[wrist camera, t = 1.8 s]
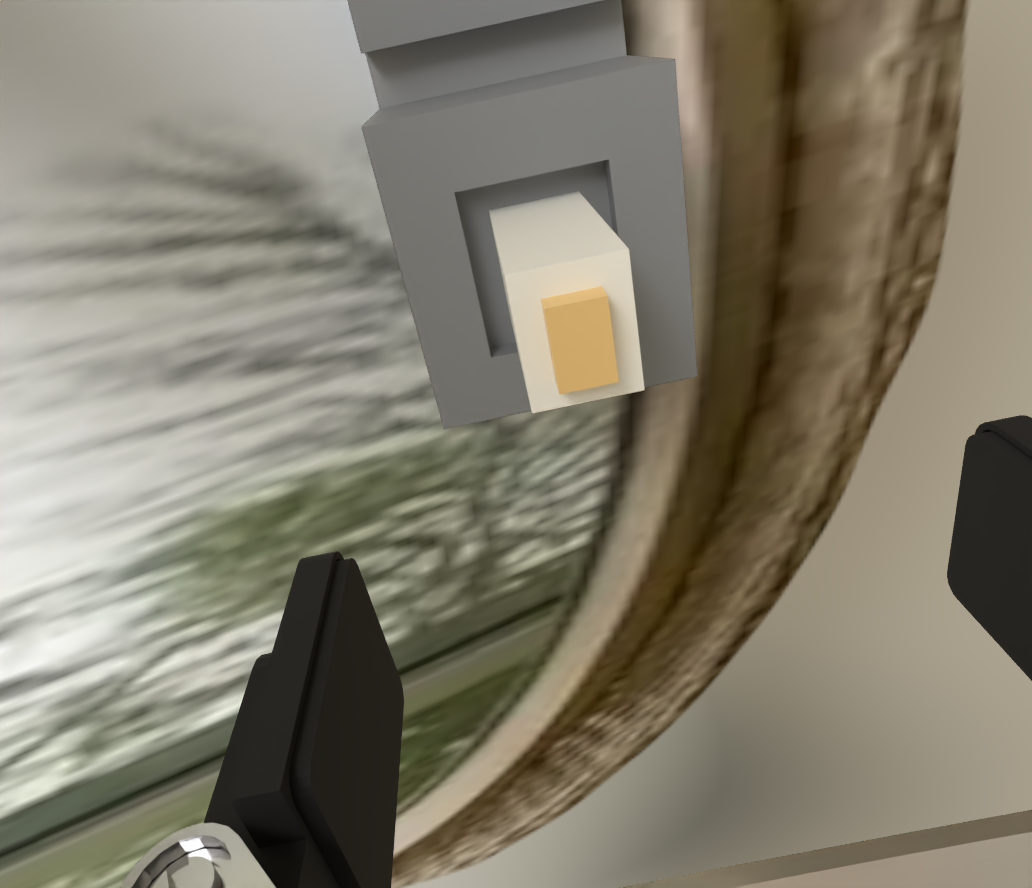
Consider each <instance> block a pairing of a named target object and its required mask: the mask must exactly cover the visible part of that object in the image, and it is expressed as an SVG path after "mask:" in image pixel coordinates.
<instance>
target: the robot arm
mask: <svg viewBox="0 0 1032 888" xmlns="http://www.w3.org/2000/svg"><path fill="white" fill-rule="evenodd" d="M947 578H948V583H949V586H950V588H951V590H952V592H953V594H954V595H955V597H956V598H957V599H958V600H959V601H960V602H961V604H962V605H963V606H964V607H965V608H966V609H967V610H968V611H969V612H970V613H971V614H972V616H973V617H974V618H975V619H976V620H977V621H978V622H979V623H980V624H981V626H982V627H983V628H984V629H985V630H986V631H987V632H988V633H989V634H990V635H991V636H992V637H993V639H994V640H995V641H996V642H997V643H998V644H999V645H1000V646H1001V647H1002V648H1003V649H1004V651H1005V652H1006V653H1007V654H1008V655H1009V656H1010V657H1011V658H1012V660H1013V661H1014V662H1015V663H1016V664H1017V665H1018V666H1019V667H1020V668H1021V669H1022V671H1023V672H1024V673H1025V674H1026V675H1027V676H1028V677H1029V678H1030V679H1031V680H1032V418H1030V417H1028V416H1016V417H1010V418H1005V419H1001V420H996V421H990V422H985V423H983V424H981V425H979V427H978V428H977V430H976V432H975V435H972V436H970V437H969V438H968V440H967V442H966V445H965V452H964V459H963V466H962V474H961V480H960V487H959V494H958V501H957V508H956V515H955V522H954V529H953V536H952V543H951V550H950V557H949V563H948V571H947ZM403 708H404V696H403V688H402V683H401V680H400V677H399V674H398V672H397V669H396V666H395V664H394V661H393V658H392V656H391V653H390V650H389V648H388V645H387V642H386V640H385V637H384V634H383V632H382V629H381V626H380V624H379V621H378V618H377V616H376V613H375V610H374V608H373V605H372V602H371V600H370V597H369V594H368V591H367V589H366V586H365V583H364V581H363V578H362V575H361V573H360V570H359V567H358V565H357V563H356V561H355V560H354V559H353V558H350V559H345V560H344V558H343V556H342V555H341V554H340V552H331V553H326V554H321V555H316V556H311V557H306V558H302V559H301V560H300V561H299V563H298V566H297V569H296V573H295V576H294V579H293V583H292V586H291V590H290V593H289V597H288V600H287V603H286V607H285V610H284V614H283V617H282V620H281V624H280V627H279V631H278V634H277V638H276V641H275V644H274V648H273V651H272V653H269V654H264V655H261V656H260V657H259V658H258V659H257V660H256V662H255V664H254V666H253V669H252V672H251V675H250V678H249V681H248V684H247V688H246V691H245V694H244V697H243V700H242V703H241V707H240V710H239V713H238V716H237V719H236V722H235V726H234V729H233V732H232V735H231V738H230V741H229V745H228V748H227V751H226V754H225V757H224V760H223V764H222V767H221V770H220V773H219V776H218V779H217V783H216V786H215V789H214V792H213V795H212V798H211V802H210V805H209V808H208V811H207V814H206V817H205V821H204V823H203V824H195V825H192V826H189V827H187V828H184V829H182V830H179V831H177V832H174V833H173V834H171V835H170V836H168V837H167V838H165V839H164V840H162V841H160V842H159V843H157V844H156V845H155V846H154V847H153V848H151V849H150V850H149V851H148V852H147V853H146V854H145V855H144V856H143V857H142V858H141V859H140V860H139V861H138V862H137V863H136V864H135V866H134V867H133V868H132V870H131V871H130V872H129V874H128V875H127V877H126V878H125V879H124V881H123V882H122V884H121V886H120V888H391V879H392V864H393V850H394V836H395V822H396V808H397V793H398V779H399V765H400V751H401V737H402V722H403ZM620 888H1032V810H1028V811H1023V812H1017V813H1012V814H1006V815H1001V816H995V817H990V818H985V819H979V820H974V821H968V822H963V823H957V824H952V825H947V826H941V827H936V828H931V829H925V830H920V831H915V832H909V833H904V834H899V835H893V836H888V837H883V838H877V839H872V840H866V841H861V842H856V843H851V844H845V845H840V846H835V847H829V848H824V849H819V850H813V851H808V852H803V853H798V854H792V855H787V856H782V857H776V858H771V859H766V860H761V861H755V862H750V863H744V864H739V865H735V866H729V867H724V868H719V869H713V870H708V871H703V872H698V873H693V874H688V875H682V876H678V877H672V878H667V879H662V880H656V881H651V882H646V883H641V884H636V885H631V886H625V887H620Z"/></svg>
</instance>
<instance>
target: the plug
mask: <svg viewBox="0 0 1032 888" xmlns="http://www.w3.org/2000/svg"><path fill="white" fill-rule="evenodd" d="M489 214H490V219H491V224H492V229H493V234H494V239H495V244H496V249H497V253H498V258H499V263H500V268H501V273H502V278H503V283H504V288H505V293H506V298H507V303H508V308H509V313H510V318H511V322H512V326H513V331H514V335H515V340H516V344H517V349H518V353H519V358H520V362H521V367H522V371H523V375H524V380H525V384H526V389H527V393H528V398H529V402H530V407H531V411H532V413H537V412H542V411H547V410H552V409H556V408H561V407H566V406H571V405H576V404H581V403H585V402H590V401H595V400H600V399H605V398H609V397H614V396H619V395H624V394H629V393H634V392H638V391H643V390H645V389H644V380H643V371H642V362H641V353H640V344H639V335H638V326H637V318H636V309H635V300H634V291H633V282H632V273H631V264H630V255H629V249H628V247H627V246H626V245H625V244H624V243H623V242H622V241H621V239H620V238H619V237H618V236H617V235H616V234H615V232H614V231H613V230H612V229H611V228H610V227H609V226H608V224H607V223H606V222H605V221H604V220H603V219H602V217H601V216H600V215H599V214H598V213H597V212H596V211H595V209H594V208H593V207H592V206H591V205H590V204H589V202H588V201H587V200H586V199H585V198H584V197H583V196H582V194H581V193H580V192H579V191H578V192H574V193H569V194H564V195H559V196H555V197H550V198H545V199H541V200H536V201H531V202H527V203H522V204H517V205H513V206H508V207H503V208H499V209H494V210H489Z"/></svg>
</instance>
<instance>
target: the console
mask: <svg viewBox="0 0 1032 888" xmlns="http://www.w3.org/2000/svg"><path fill="white" fill-rule="evenodd" d="M347 1H348V5H349V8H350V12H351V16H352V20H353V24H354V28H355V31H356V35H357V39H358V43H359V47H360V50H361V53H366V57H367V61H368V65H369V69H370V73H371V77H372V80H373V84H374V88H375V92H376V96H377V100H378V104H379V108H380V109H379V110H378V111H377V112H376V113H375V114H374V115H373V116H372V117H371V118H370V119H369V120H368V121H367V122H366V123H365V124H364V125H363V126H362V131H363V135H364V138H365V142H366V146H367V149H368V153H369V157H370V160H371V164H372V168H373V171H374V175H375V178H376V182H377V186H378V189H379V193H380V197H381V200H382V204H383V208H384V211H385V215H386V219H387V222H388V226H389V230H390V233H391V237H392V241H393V244H394V248H395V252H396V255H397V259H398V263H399V266H400V270H401V274H402V277H403V281H404V285H405V288H406V292H407V296H408V299H409V303H410V307H411V310H412V314H413V318H414V321H415V325H416V329H417V332H418V336H419V340H420V343H421V347H422V351H423V354H424V358H425V362H426V365H427V369H428V372H429V376H430V380H431V383H432V387H433V391H434V394H435V398H436V402H437V405H438V409H439V413H440V416H441V420H442V424H443V427H444V429H447V428H451V427H456V426H461V425H466V424H471V423H476V422H480V421H485V420H490V419H495V418H500V417H504V416H509V415H514V414H519V413H524V412H529V411H531V407H530V402H529V398H528V393H527V389H526V384H525V380H524V375H523V371H522V367H521V362H520V358H519V353H518V349H517V344H516V340H515V335H514V331H513V326H512V322H511V318H510V313H509V308H508V303H507V298H506V293H505V288H504V283H503V278H502V273H501V268H500V263H499V258H498V253H497V249H496V244H495V239H494V234H493V229H492V224H491V219H490V214H489V210H494V209H499V208H503V207H508V206H513V205H517V204H522V203H527V202H531V201H536V200H541V199H545V198H550V197H555V196H559V195H564V194H569V193H574V192H578V191H579V192H580V193H581V194H582V196H583V197H584V198H585V199H586V200H587V201H588V202H589V204H590V205H591V206H592V207H593V208H594V209H595V211H596V212H597V213H598V214H599V215H600V216H601V217H602V219H603V220H604V221H605V222H606V223H607V224H608V226H609V227H610V228H611V229H612V230H613V231H614V232H615V234H616V235H617V236H618V237H619V238H620V239H621V241H622V242H623V243H624V244H625V245H626V246H627V247H628V249H629V255H630V264H631V273H632V282H633V291H634V300H635V309H636V318H637V326H638V335H639V344H640V353H641V362H642V371H643V380H644V387H649V386H654V385H659V384H664V383H668V382H673V381H678V380H683V379H688V378H692V377H697V363H696V349H695V335H694V321H693V307H692V292H691V278H690V264H689V250H688V236H687V221H686V207H685V193H684V179H683V165H682V151H681V136H680V122H679V108H678V94H677V80H676V65H675V59H667V58H655V57H643V56H630V55H627V53H626V43H625V33H624V23H623V13H622V3H621V0H347Z"/></svg>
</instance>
